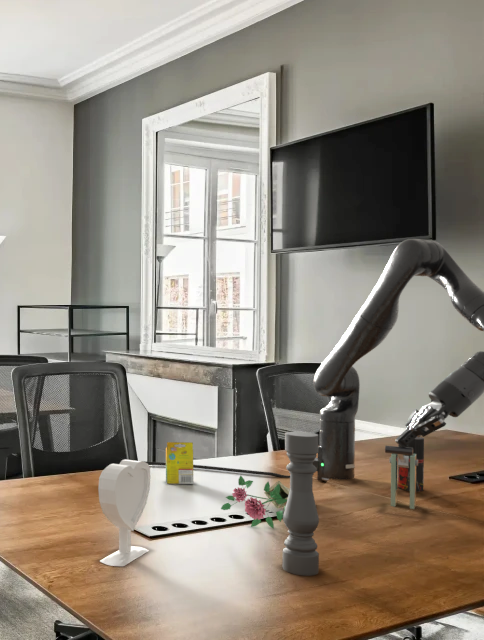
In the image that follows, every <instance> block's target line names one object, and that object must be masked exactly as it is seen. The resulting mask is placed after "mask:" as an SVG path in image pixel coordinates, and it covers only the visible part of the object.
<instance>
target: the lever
mask: <svg viewBox="0 0 484 640" xmlns="http://www.w3.org/2000/svg"><path fill="white" fill-rule="evenodd" d="M384 452H385V454H397V455H398V466H399V467H404V468H409V456H405V455H413V448H408V447H405V448H403V447H398V445H384Z"/></svg>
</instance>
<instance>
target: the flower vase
mask: <svg viewBox="0 0 484 640" xmlns="http://www.w3.org/2000/svg"><path fill="white" fill-rule="evenodd" d="M237 481H238V486H242V487H237V488H236V487H235V488H234V489H233V490H232V493H231V495H227V496H226V497H225V499H226V500H228V501H231V502H234V503H233V504H231V503H230V502H226V503H224V504H222V506H221V507H220V510H223V511H228V510H231V507H232V506H233V505H235V504H237V503H240V502H243V501H244V512H246V513H247V515H248V516H249V517H250V518H252V519H253V520H252V521H251V525H250V528H254V527H257V526H258V525H260V524H261V523H262V519H264V518H265V517H264V516H266V515H267V513H268V512H267V509H268V507H269V506H270V504H271V503H272V504H273V505H274V507H275V508H276V509H282V508H283V510H279V511H276V512H275V515H276V519H277V520H278V521H279V522H280V523H281V522H282V520H283V514H284V511H285V507H286V503H287V499H288V495H289V491H290V487H287V486H286V485H284V484H283V483H282V482H281V481H280V480H277V482H276V483H274V484H273V485H271V484H270V482H269V481H267V482H266V483H265V485H264V486H263V491H264V494H265V495H266V497H267V498H266V497H261V496H256V495H252V494H247V491H246V489H249V488H250V487H251V486H252V485H253V483H254V480H246V481H245V478H244V477H243V476H242V474H241V475H240V476H239V478H238V480H237ZM244 486H245V487H244ZM247 497H249V498H247ZM258 499H262V500H266V501H263V502H262V500H258ZM235 501H236V502H235ZM267 503H268V505H267V507H265V506H266V504H267ZM265 522H266V524H267V525H268V527H270V528H272V529H275V523H274V520H273V518H272V517H271V516H269V515H267V517H266V518H265Z"/></svg>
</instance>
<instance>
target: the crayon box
mask: <svg viewBox="0 0 484 640" xmlns="http://www.w3.org/2000/svg"><path fill="white" fill-rule="evenodd" d="M193 444H194V442H190V441H189V442H185V441H182V442H180V441H178V442H177V441H167V442H166V447H165V463H166V466H165V482H166V484H167V485H171V484H172V485H173V484H174V485H194V484H195V483H194V481H195V480H194V468H193V465H194V445H193ZM177 445H178V446H177ZM179 445H183V446H180V447H179Z"/></svg>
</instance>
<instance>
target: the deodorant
mask: <svg viewBox="0 0 484 640" xmlns="http://www.w3.org/2000/svg"><path fill="white" fill-rule="evenodd" d="M397 447H401V446H399V445H398V444H397ZM406 447H408V448H413V454H416V460H418V466H416V493H417V492H418V493H420V492H423V491H424V486H425V485H424V479H425V478H424V477H425V476H424V475H425V438H424V437H423V436H420V437H416V438H415V439H414V440H413V441H412V442H411V443H410V444H408V445H407V446H406ZM405 456H409V468H404V467H399V466H398V467H397V489H398V490H402V491H406V492H410V456H411V455H405Z"/></svg>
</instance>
